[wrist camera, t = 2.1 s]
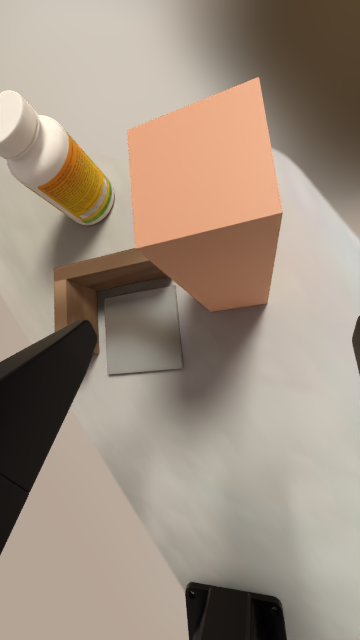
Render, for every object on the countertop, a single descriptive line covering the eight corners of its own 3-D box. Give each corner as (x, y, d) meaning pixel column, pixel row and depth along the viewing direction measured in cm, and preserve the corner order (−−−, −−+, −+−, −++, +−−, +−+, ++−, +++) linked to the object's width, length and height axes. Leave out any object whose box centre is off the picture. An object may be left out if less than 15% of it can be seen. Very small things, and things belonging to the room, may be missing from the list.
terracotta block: (267, 303, 19) (282, 212, 7) (210, 311, 20) (135, 248, 8) (259, 249, 20) (258, 77, 7) (205, 261, 21) (127, 130, 9)
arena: (183, 367, 20) (165, 371, 16) (89, 375, 23) (55, 380, 19) (173, 262, 22) (155, 243, 18) (85, 281, 24) (53, 268, 21)
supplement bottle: (122, 178, 25) (40, 75, 15) (107, 230, 24) (15, 156, 15) (80, 176, 26) (-16, 81, 17) (65, 223, 26) (-40, 153, 17)
